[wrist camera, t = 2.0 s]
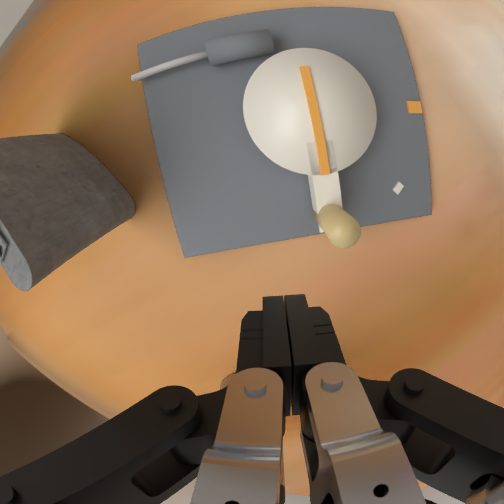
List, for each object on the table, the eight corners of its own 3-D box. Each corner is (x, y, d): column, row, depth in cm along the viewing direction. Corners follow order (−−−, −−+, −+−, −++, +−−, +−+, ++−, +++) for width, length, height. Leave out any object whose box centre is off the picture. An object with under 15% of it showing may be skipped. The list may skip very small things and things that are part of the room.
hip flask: (48, 149, 26) (-77, 178, 8) (62, 123, 25) (-70, 135, 7) (126, 225, 30) (6, 319, 11) (144, 199, 29) (13, 278, 10)
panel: (426, 212, 28) (432, 215, 27) (187, 254, 31) (183, 259, 30) (389, 15, 19) (394, 11, 18) (141, 48, 22) (135, 44, 21)
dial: (233, 65, 22) (224, 40, 15) (352, 53, 20) (378, 29, 14) (268, 234, 28) (270, 261, 21) (379, 215, 27) (411, 235, 20)
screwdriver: (266, 28, 20) (270, 29, 18) (271, 52, 22) (275, 56, 20) (132, 64, 21) (123, 70, 19) (140, 86, 23) (132, 93, 22)
